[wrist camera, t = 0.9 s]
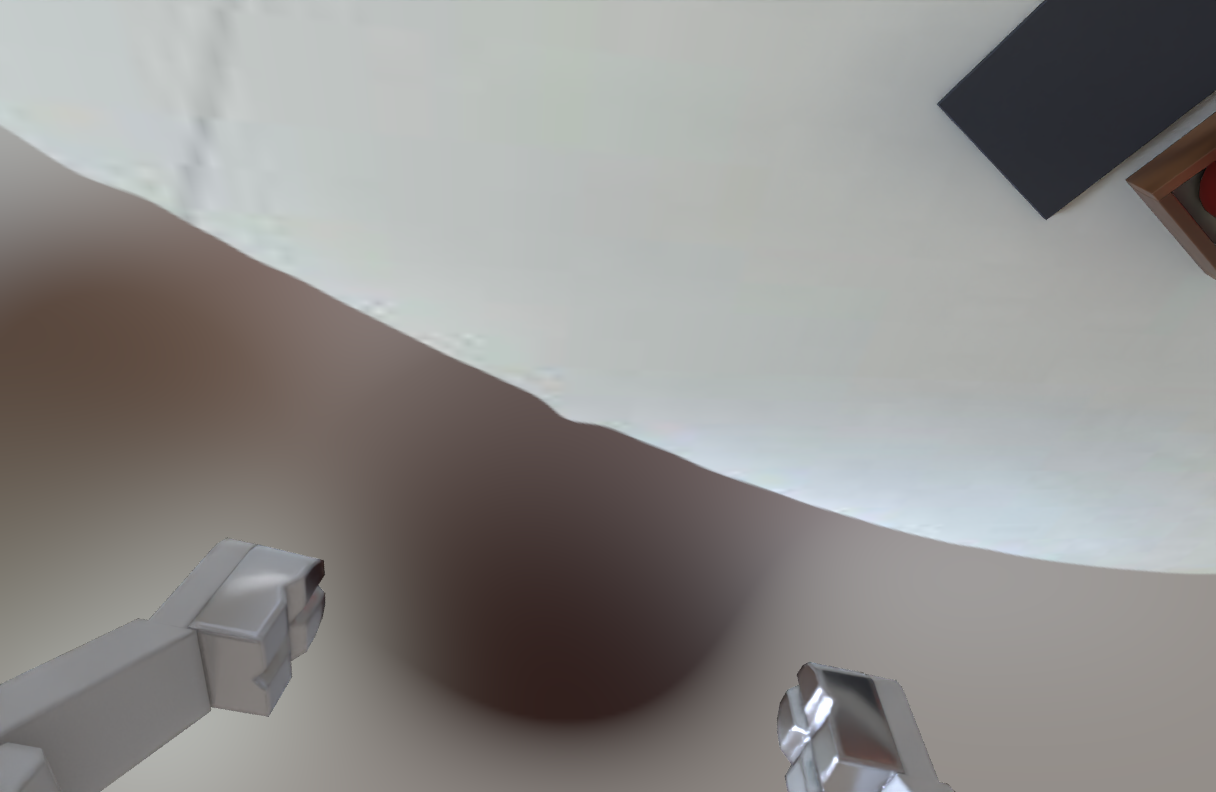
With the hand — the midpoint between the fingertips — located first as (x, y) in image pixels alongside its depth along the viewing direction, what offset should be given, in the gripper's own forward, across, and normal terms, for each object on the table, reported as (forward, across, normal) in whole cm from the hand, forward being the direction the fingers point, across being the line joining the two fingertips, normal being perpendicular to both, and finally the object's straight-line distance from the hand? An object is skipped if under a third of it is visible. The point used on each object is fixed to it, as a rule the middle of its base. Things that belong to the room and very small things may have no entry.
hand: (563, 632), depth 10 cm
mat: (+38, -28, -16) cm, 49 cm away
